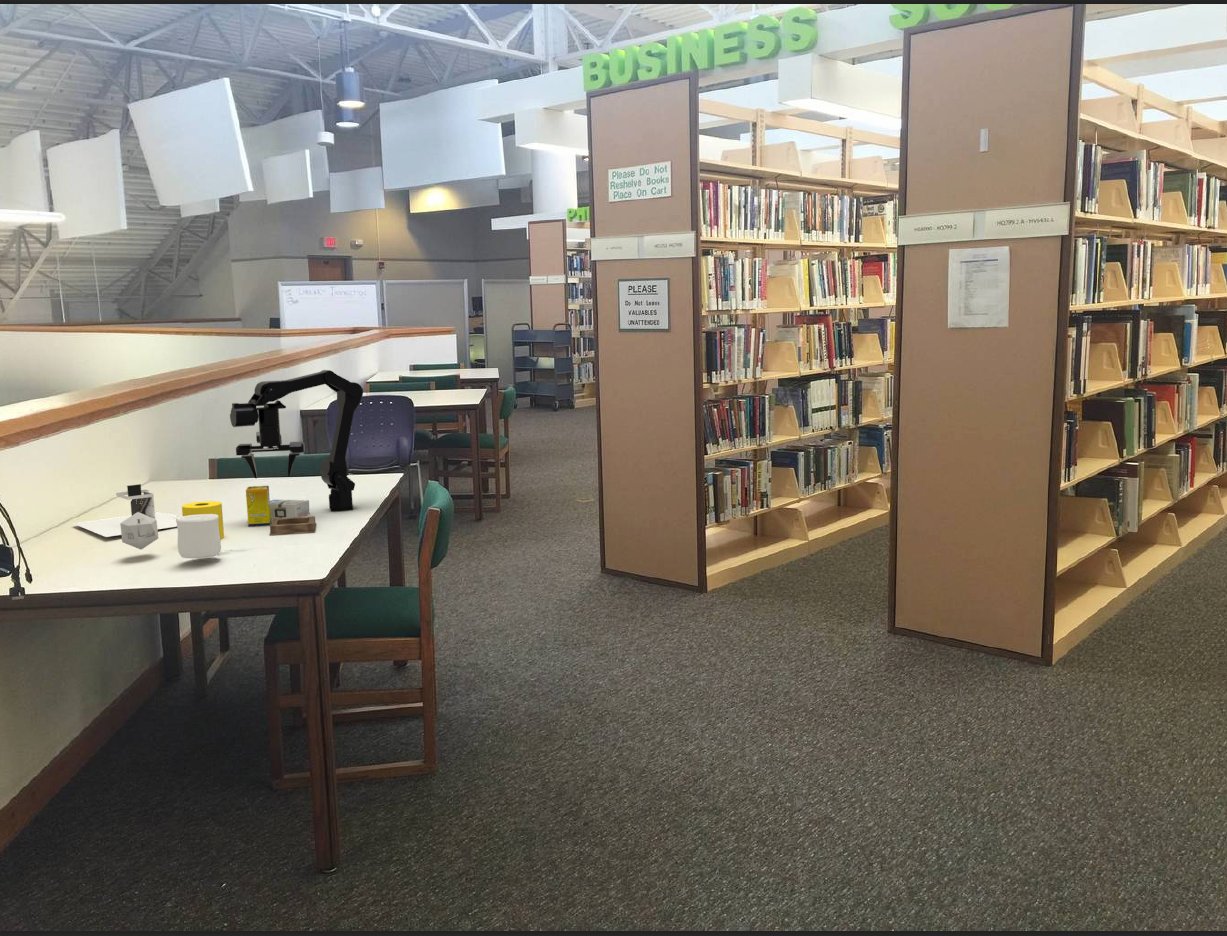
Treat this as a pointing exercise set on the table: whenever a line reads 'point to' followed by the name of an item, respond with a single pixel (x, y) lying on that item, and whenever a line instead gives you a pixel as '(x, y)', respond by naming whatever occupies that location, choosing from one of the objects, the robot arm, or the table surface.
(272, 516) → the ink box
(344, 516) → the table surface
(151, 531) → the die
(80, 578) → the table surface
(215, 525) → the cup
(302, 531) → the base
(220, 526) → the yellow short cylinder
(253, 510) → the supplement box
